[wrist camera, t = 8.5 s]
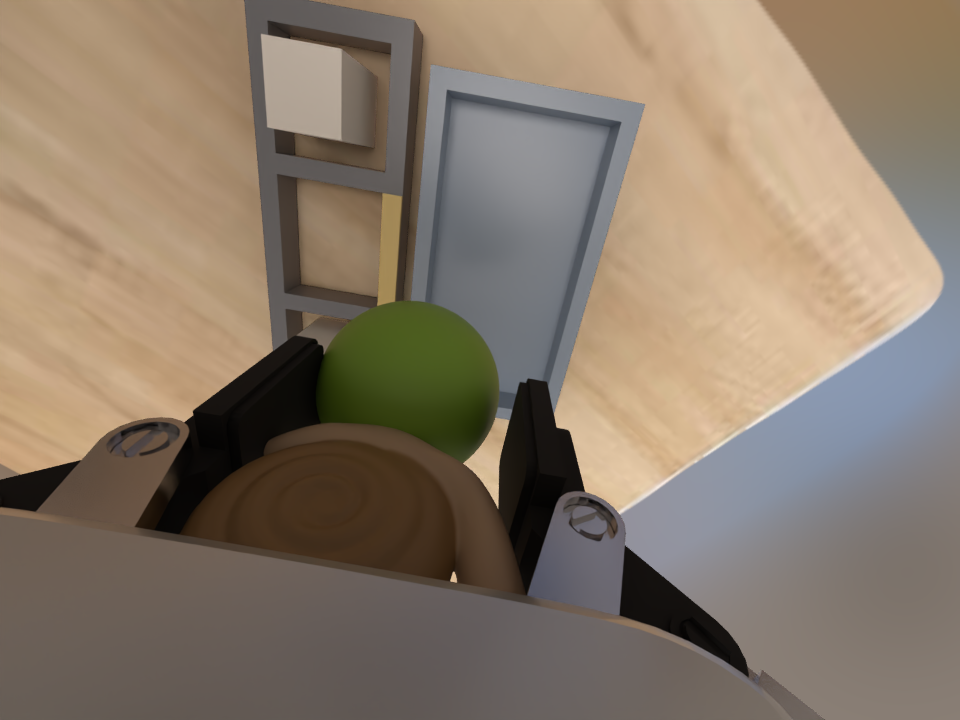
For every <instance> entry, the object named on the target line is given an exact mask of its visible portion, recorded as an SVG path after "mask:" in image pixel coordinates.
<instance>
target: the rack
mask: <svg viewBox="0 0 960 720" xmlns="http://www.w3.org/2000/svg"><path fill="white" fill-rule="evenodd" d="M244 2H245V14H246V26H247V38H248V51H249V63H250V75H251V87H252V99H253V112H254V124H255V136H256V148H257V160H258V173H259V185H260V197H261V209H262V222H263V234H264V246H265V258H266V270H267V283H268V295H269V307H270V319H271V331H272V344H273V351H274V350H275V349H277V348H278V347H279V346H281V345H282V344H283V343H285V342H286V341H287V340H289V339H290V338H291V337H293V336H295V335H297V334H299V333H300V332H301V331H303V328H302V312H308V313H314V314H320V315H326V316H331V317H337V318H343V319H349V320H352V319H354V318H355V317H357V316H358V315H360V314H361V313H363V312H365V311H367V310H369V309H371V308H374V307H376V306H379V305H382V304H386V303H390V302H396V301H403V292H404V279H405V266H406V253H407V240H408V227H409V214H410V201H411V188H412V175H413V162H414V149H415V136H416V122H417V109H418V96H419V83H420V70H421V57H422V44H423V34H422V33H421V31H420V29H419V27H418V26H417V24H416V22H415V20H410V19H405V18H400V17H394V16H389V15H384V14H378V13H373V12H368V11H362V10H357V9H352V8H346V7H341V6H336V5H330V4H325V3H320V2H314V1H309V0H244ZM261 34H265V35H270V36H275V37H281V38H286V39H290V35H291V36H297V37H302V38H307V39H313V40H318V41H323V42H329V43H334V44H340V45H345V46H350V47H356V48H361V49H366V50H372V51H377V52H383V53H388V54H391V64H390V85H389V106H388V126H387V147H386V168H385V171H381V170H375V169H370V168H364V167H359V166H353V165H347V164H342V163H336V162H331V161H325V160H320V159H314V158H308V157H303V156H297V155H295V145H294V133H292V132H287V131H283V130H278V129H273V128H268V127H267V115H266V100H265V86H264V72H263V57H262V43H261ZM296 177H297V178H303V179H308V180H314V181H319V182H325V183H331V184H336V185H342V186H347V187H353V188H359V189H364V190H370V191H375V192H381V193H383V196H382V218H381V239H380V261H379V282H378V298H375V297H369V296H364V295H358V294H352V293H346V292H341V291H335V290H329V289H323V288H317V287H312V286H306V285H301V282H300V259H299V236H298V213H297V190H296Z"/></svg>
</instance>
